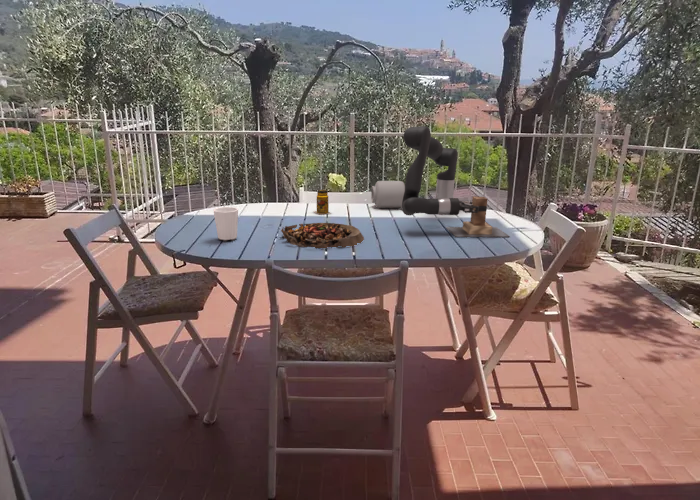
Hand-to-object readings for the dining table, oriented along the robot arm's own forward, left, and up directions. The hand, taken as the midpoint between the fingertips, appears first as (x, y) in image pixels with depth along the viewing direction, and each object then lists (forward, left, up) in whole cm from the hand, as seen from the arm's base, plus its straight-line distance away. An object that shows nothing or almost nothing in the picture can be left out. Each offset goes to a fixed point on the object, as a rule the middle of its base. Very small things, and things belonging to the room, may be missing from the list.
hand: (483, 206), depth 217 cm
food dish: (-67, -26, -13) cm, 73 cm away
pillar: (-2, 0, -8) cm, 8 cm away
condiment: (-79, +22, -12) cm, 83 cm away
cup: (-105, -37, -12) cm, 112 cm away
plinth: (-2, 0, -12) cm, 12 cm away
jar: (-50, +41, -12) cm, 65 cm away
